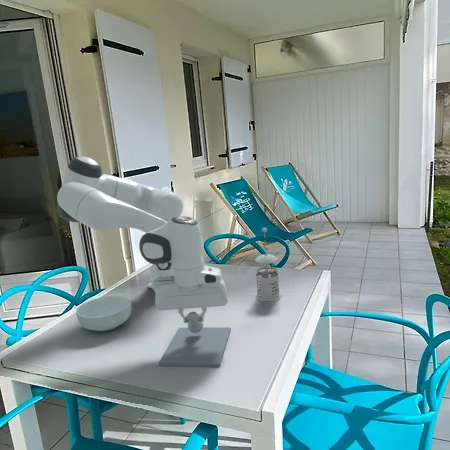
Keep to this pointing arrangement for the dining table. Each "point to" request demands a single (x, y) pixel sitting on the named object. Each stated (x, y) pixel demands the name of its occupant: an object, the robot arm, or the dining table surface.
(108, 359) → the dining table surface
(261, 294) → the french press
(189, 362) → the mat
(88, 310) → the cereal bowl
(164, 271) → the robot arm
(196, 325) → the rook chess piece
